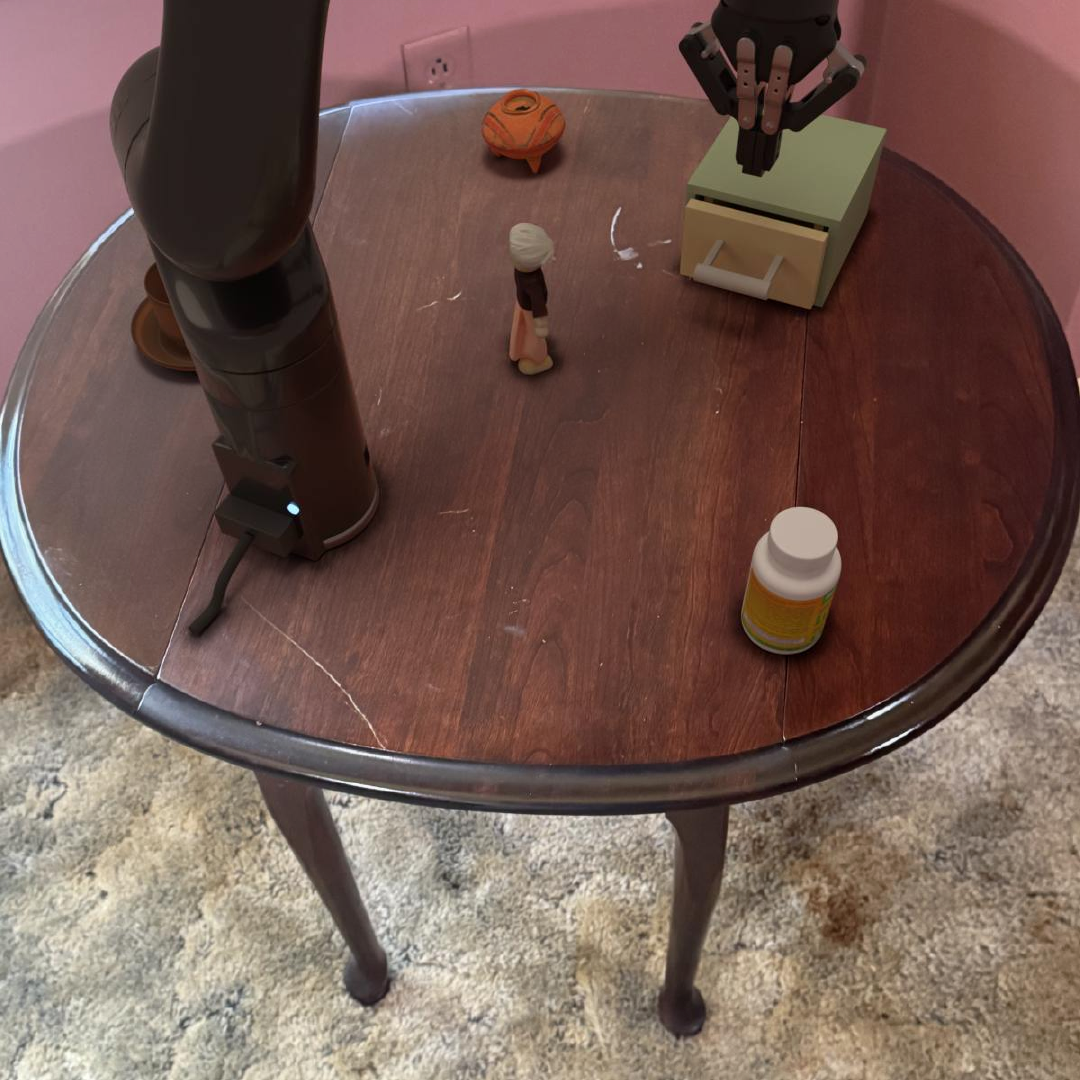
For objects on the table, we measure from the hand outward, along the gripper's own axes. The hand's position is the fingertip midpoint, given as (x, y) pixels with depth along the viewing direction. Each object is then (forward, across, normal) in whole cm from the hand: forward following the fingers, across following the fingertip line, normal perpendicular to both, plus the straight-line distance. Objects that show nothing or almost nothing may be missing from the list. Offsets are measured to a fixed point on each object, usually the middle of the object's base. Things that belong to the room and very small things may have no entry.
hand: (756, 169), depth 81 cm
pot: (+14, -26, +13) cm, 32 cm away
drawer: (+13, 0, +6) cm, 14 cm away
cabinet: (+14, 0, +10) cm, 17 cm away
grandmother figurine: (+14, -13, -12) cm, 22 cm away
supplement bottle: (+14, +13, -28) cm, 33 cm away
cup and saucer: (+14, -39, -20) cm, 46 cm away
